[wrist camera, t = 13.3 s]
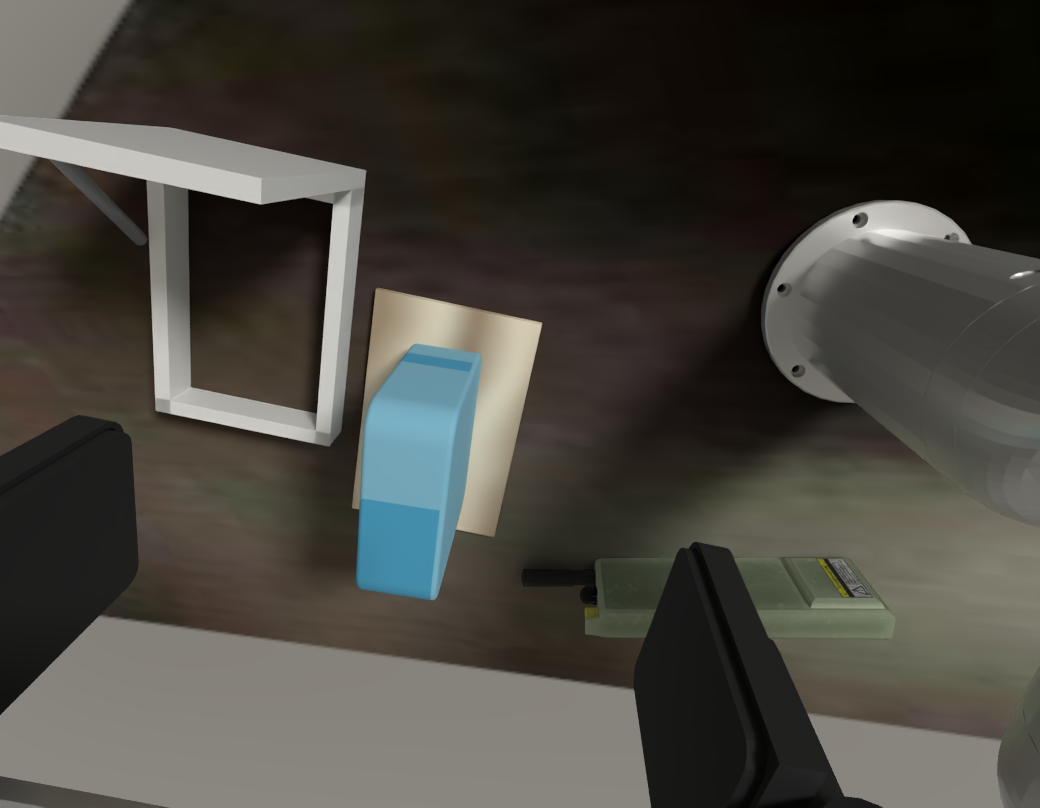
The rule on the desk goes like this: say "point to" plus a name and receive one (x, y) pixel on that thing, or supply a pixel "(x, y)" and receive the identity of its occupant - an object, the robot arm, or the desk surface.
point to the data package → (415, 470)
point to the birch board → (499, 392)
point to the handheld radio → (770, 582)
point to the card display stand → (170, 173)
